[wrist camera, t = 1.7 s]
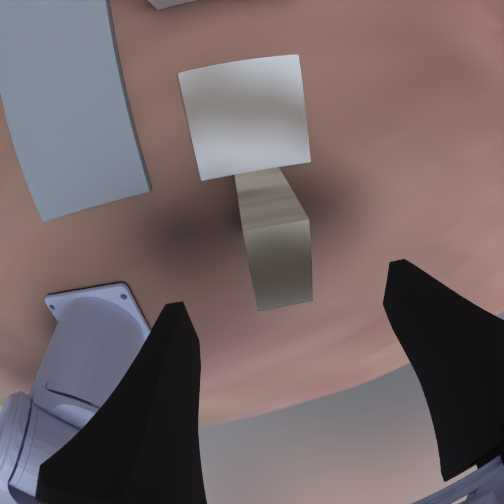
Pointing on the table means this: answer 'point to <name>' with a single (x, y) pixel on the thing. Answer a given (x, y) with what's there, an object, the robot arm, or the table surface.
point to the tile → (167, 3)
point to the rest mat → (68, 105)
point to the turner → (257, 163)
